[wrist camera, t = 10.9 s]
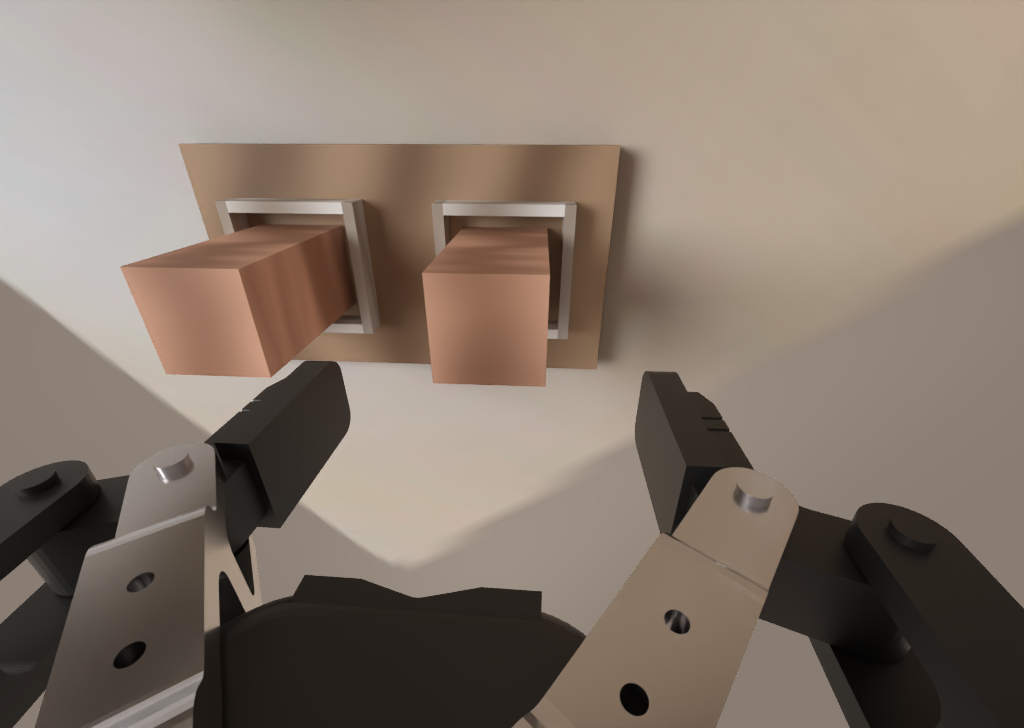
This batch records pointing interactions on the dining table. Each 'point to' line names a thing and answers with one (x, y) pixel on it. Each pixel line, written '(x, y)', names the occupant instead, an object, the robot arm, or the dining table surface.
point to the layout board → (365, 249)
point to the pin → (489, 307)
